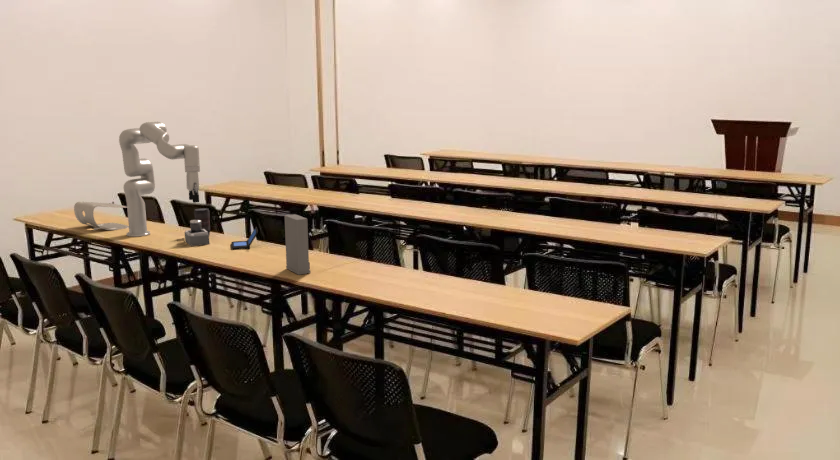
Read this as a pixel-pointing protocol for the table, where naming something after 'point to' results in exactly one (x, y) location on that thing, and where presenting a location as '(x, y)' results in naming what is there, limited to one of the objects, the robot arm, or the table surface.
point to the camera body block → (197, 238)
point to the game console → (244, 244)
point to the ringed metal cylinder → (195, 226)
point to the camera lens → (203, 218)
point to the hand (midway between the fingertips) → (194, 201)
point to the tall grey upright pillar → (297, 244)
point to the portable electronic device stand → (89, 217)
